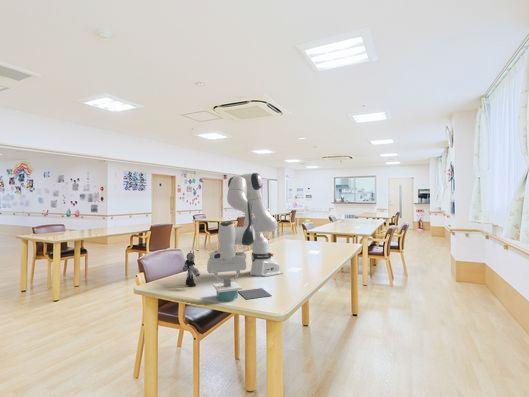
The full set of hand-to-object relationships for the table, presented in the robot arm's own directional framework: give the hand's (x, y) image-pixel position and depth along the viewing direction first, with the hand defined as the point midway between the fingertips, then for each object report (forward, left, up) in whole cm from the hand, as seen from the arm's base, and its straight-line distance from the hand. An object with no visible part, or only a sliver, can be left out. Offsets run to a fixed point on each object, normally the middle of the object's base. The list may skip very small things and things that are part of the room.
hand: (227, 280), depth 157 cm
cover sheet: (0, 0, -4) cm, 4 cm away
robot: (+14, -30, -9) cm, 34 cm away
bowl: (0, 0, -9) cm, 9 cm away
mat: (-15, 0, -9) cm, 17 cm away
